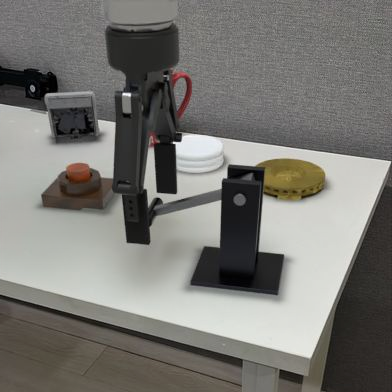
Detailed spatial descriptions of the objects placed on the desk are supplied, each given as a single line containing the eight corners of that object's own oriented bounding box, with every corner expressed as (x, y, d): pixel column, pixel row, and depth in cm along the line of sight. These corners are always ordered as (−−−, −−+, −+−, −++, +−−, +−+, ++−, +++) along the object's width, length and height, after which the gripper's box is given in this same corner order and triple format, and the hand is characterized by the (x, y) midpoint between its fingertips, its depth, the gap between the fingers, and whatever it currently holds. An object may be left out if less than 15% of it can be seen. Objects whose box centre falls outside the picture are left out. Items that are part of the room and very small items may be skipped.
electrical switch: (100, 134, 112) (94, 87, 106) (101, 147, 109) (95, 98, 102) (52, 137, 111) (43, 90, 105) (52, 150, 108) (43, 101, 101)
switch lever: (144, 232, 69) (137, 214, 68) (156, 211, 73) (149, 195, 72) (254, 205, 64) (248, 186, 62) (260, 185, 68) (254, 166, 66)
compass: (237, 184, 95) (237, 171, 93) (283, 164, 101) (284, 152, 99) (291, 208, 88) (293, 195, 86) (338, 185, 94) (340, 173, 93)
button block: (43, 207, 88) (38, 183, 86) (62, 186, 94) (58, 163, 92) (103, 213, 87) (100, 189, 84) (119, 191, 93) (117, 168, 90)
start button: (64, 181, 87) (62, 170, 86) (72, 172, 90) (71, 161, 89) (86, 183, 86) (84, 172, 85) (94, 174, 89) (92, 163, 88)
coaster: (191, 179, 96) (191, 159, 94) (157, 161, 102) (156, 142, 100) (234, 164, 101) (235, 145, 99) (199, 148, 107) (199, 129, 104)
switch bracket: (190, 289, 71) (189, 186, 62) (204, 253, 78) (204, 155, 69) (277, 299, 69) (288, 195, 60) (283, 261, 76) (294, 162, 67)
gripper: (143, 54, 47) (157, 271, 60) (201, 2, 65) (202, 177, 79) (58, 51, 48) (91, 264, 62) (139, 1, 66) (151, 173, 80)
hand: (153, 216), depth 70 cm, fingers open, 13 cm apart
